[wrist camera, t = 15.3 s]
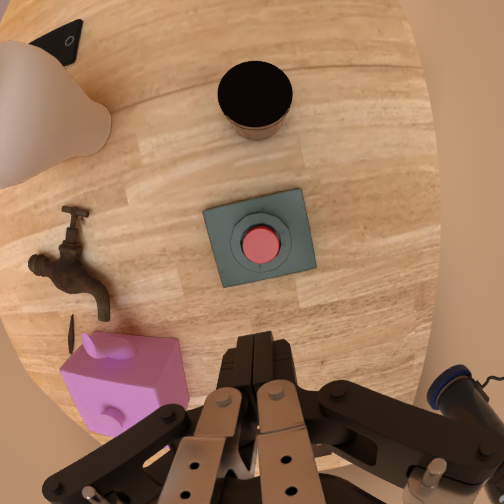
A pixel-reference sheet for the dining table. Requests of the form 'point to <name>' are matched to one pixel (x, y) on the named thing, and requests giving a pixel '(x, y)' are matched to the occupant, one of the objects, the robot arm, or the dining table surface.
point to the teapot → (123, 379)
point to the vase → (43, 114)
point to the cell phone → (61, 42)
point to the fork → (70, 337)
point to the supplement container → (255, 99)
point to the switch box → (260, 214)
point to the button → (260, 244)
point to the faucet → (72, 268)
